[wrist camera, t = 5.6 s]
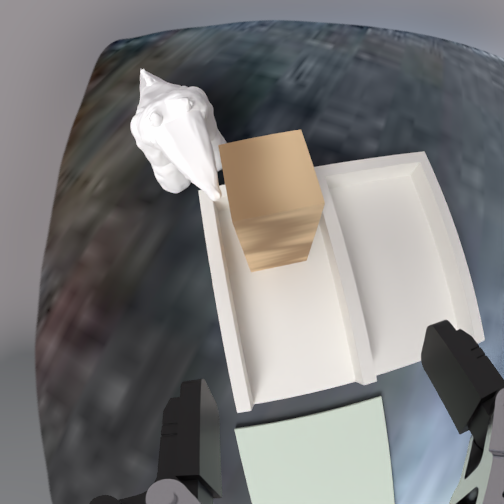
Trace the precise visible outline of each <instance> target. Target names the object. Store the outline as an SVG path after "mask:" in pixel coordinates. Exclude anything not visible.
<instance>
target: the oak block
mask: <svg viewBox="0 0 504 504" xmlns="http://www.w3.org/2000/svg"><path fill="white" fill-rule="evenodd" d="M218 147H219V153H220V158H221V164H222V169H223V175H224V180H225V186H226V191H227V197H228V202H229V208H230V213H231V219H232V223H233V226H234V228H235V231H236V234H237V236H238V239H239V242H240V244H241V247H242V250H243V252H244V255H245V258H246V260H247V263H248V266H249V268H250V271H251V272H255V271H260V270H265V269H270V268H274V267H279V266H284V265H289V264H293V263H298V262H303V261H307V258H308V255H309V252H310V249H311V246H312V243H313V240H314V236H315V233H316V230H317V227H318V224H319V221H320V218H321V214H322V211H323V208H324V205H325V202H324V198H323V195H322V192H321V188H320V185H319V182H318V179H317V176H316V173H315V170H314V166H313V163H312V160H311V157H310V154H309V151H308V148H307V145H306V142H305V140H304V137H303V134H302V131H301V129H300V130H294V131H288V132H282V133H277V134H271V135H266V136H260V137H255V138H250V139H245V140H240V141H235V142H231V143H226V144H221V145H218Z"/></svg>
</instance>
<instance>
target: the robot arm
mask: <svg viewBox="0 0 504 504" xmlns="http://www.w3.org/2000/svg"><path fill="white" fill-rule="evenodd" d="M421 361H422V365H423V368H424V370H425V371H426V373H427V375H428V377H429V378H430V380H431V382H432V384H433V385H434V387H435V389H436V391H437V393H438V394H439V396H440V398H441V400H442V402H443V403H444V405H445V407H446V409H447V411H448V413H449V415H450V416H451V418H452V420H453V422H454V424H455V426H456V428H457V430H458V432H459V434H462V433H464V432H466V431H468V430H470V432H471V434H472V435H471V437H470V441H469V446H468V451H467V455H466V459H465V463H464V467H463V471H462V475H461V478H460V481H459V484H458V486H457V488H456V489H455V491H454V493H453V495H452V497H451V500H450V503H449V504H504V380H503V378H502V377H501V375H500V374H499V372H498V371H497V370H496V368H495V367H494V365H493V364H492V363H491V361H490V360H489V358H488V357H487V356H485V353H484V352H483V350H482V349H481V348H479V345H478V344H477V342H476V341H475V340H474V338H473V337H472V336H471V335H469V334H468V333H466V332H465V331H463V330H462V329H459V330H456V329H455V328H454V327H453V325H452V324H451V323H450V322H449V321H448V320H443V321H440V322H437V323H434V324H432V325H429V326H428V327H427V329H426V334H425V338H424V343H423V347H422V352H421ZM162 425H163V426H162V430H161V435H162V437H161V440H160V451H159V462H158V473H157V478H156V481H155V483H154V484H153V485H152V486H151V487H150V488H149V489H148V490H147V491H146V492H144V493H142V494H139V495H136V496H132V497H128V498H124V499H120V500H117V499H116V498H114V497H112V496H108V495H102V496H98V497H96V498H94V499H93V500H92V501H91V502H90V503H89V504H213V498H222V483H221V458H220V428H219V412H218V408H217V404H216V402H215V400H214V398H213V396H212V394H211V392H210V390H209V388H208V386H207V384H206V382H205V380H204V379H199V380H191V381H184V382H182V384H181V390H180V397H177V398H170V400H169V402H168V404H167V405H166V407H165V409H164V411H163V421H162Z"/></svg>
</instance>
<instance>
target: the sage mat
mask: <svg viewBox="0 0 504 504" xmlns="http://www.w3.org/2000/svg"><path fill="white" fill-rule="evenodd" d="M235 434H236V438H237V443H238V447H239V451H240V456H241V460H242V464H243V468H244V473H245V477H246V481H247V485H248V489H249V493H250V497H251V501H252V504H395V503H394V491H393V480H392V470H391V461H390V453H389V445H388V437H387V430H386V423H385V417H384V410H383V404H382V398H381V396H378V397H375V398H372V399H368V400H365V401H362V402H358V403H355V404H351V405H347V406H344V407H340V408H336V409H332V410H328V411H324V412H320V413H316V414H311V415H307V416H302V417H298V418H293V419H288V420H283V421H278V422H272V423H267V424H261V425H255V426H248V427H241V428H235Z"/></svg>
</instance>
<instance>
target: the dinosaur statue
mask: <svg viewBox="0 0 504 504" xmlns="http://www.w3.org/2000/svg"><path fill="white" fill-rule="evenodd" d="M140 72H141V73H140V103H139V105H138V107H137V111H136V115H135V116H134V117H133V118H132V121H131V132H132V134H133V136H134V137H135V139H136V143H137V146H138V147H139V148H140V149H141V150H143V152H144V153H145V156H146V157H147V159H148V160H149V161H150V162H151V165H152V168H153V170H154V174H155V177H156V179H157V181H158V182H159V183H160V184H161V186H162V188H163V189H165V190H166V191H169V192H172V193H179V192H181V191H183V190H184V189H186V188H187V187H188V186H189V185H190V183H191V182H192V183H193V184H195V185H196V186H197V187H199V188H200V189H201V190H203V191H204V192H205V193H206V194H207V195H208V197H209V198H210V199H211V200H212V201H218V200H220V199H221V197H222V192H221V190H220V187H219V183H218V174H217V172H218V171H220V170H222V164H221V158H220V153H219V147H218V145H221V144H226V141H225V139H224V137H223V136H222V135H221V133H220V132H219V130H218V129H217V124H216V121H215V118H214V115H213V106H212V105H211V103H210V102H209V101H208V98H207V95H206V94H205V92H204V91H203V90H201V89H200V88H198V87H194V86H192V87H187V86H180V85H175V84H171V83H168V82H166V81H164V80H163V79H161V78H159V77H156V76H154V75H152V74H151V73H149V72H146V71H145V69H143V70H142V69H141V71H140Z"/></svg>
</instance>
